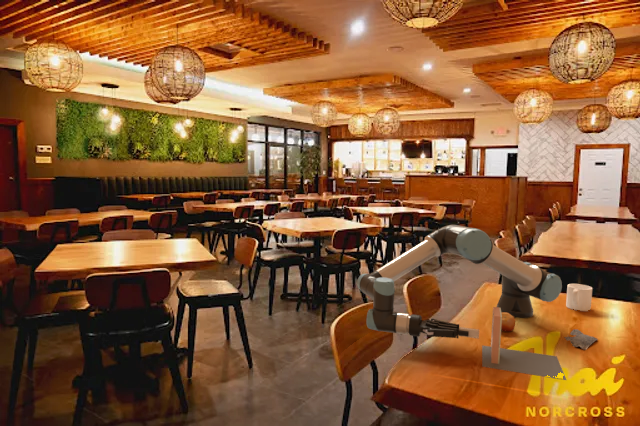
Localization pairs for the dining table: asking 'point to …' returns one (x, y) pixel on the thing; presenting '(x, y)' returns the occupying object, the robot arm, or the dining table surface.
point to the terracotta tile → (496, 335)
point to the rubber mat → (523, 362)
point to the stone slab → (580, 339)
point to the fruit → (507, 322)
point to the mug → (579, 297)
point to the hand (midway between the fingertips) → (478, 334)
